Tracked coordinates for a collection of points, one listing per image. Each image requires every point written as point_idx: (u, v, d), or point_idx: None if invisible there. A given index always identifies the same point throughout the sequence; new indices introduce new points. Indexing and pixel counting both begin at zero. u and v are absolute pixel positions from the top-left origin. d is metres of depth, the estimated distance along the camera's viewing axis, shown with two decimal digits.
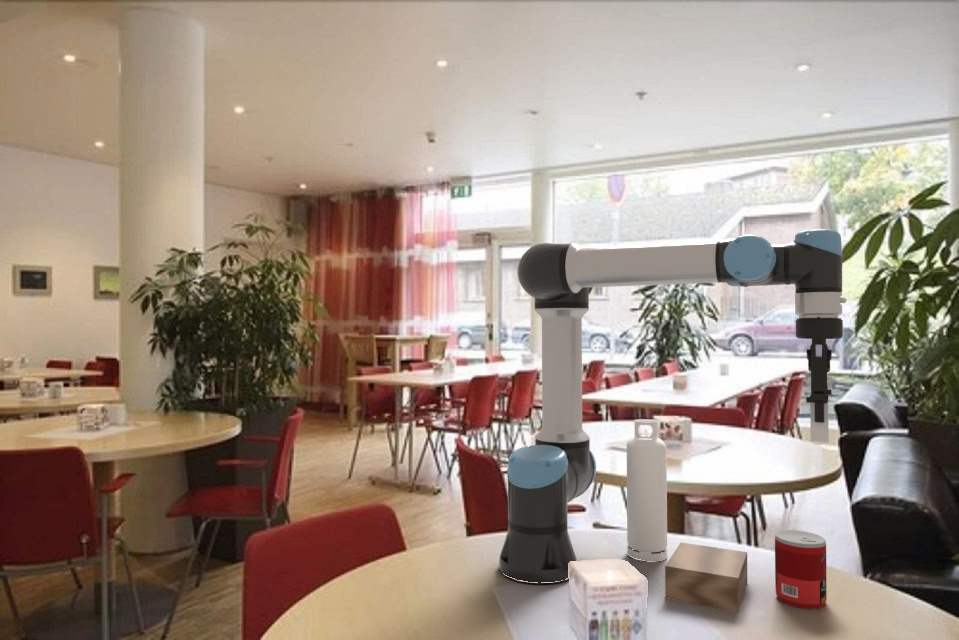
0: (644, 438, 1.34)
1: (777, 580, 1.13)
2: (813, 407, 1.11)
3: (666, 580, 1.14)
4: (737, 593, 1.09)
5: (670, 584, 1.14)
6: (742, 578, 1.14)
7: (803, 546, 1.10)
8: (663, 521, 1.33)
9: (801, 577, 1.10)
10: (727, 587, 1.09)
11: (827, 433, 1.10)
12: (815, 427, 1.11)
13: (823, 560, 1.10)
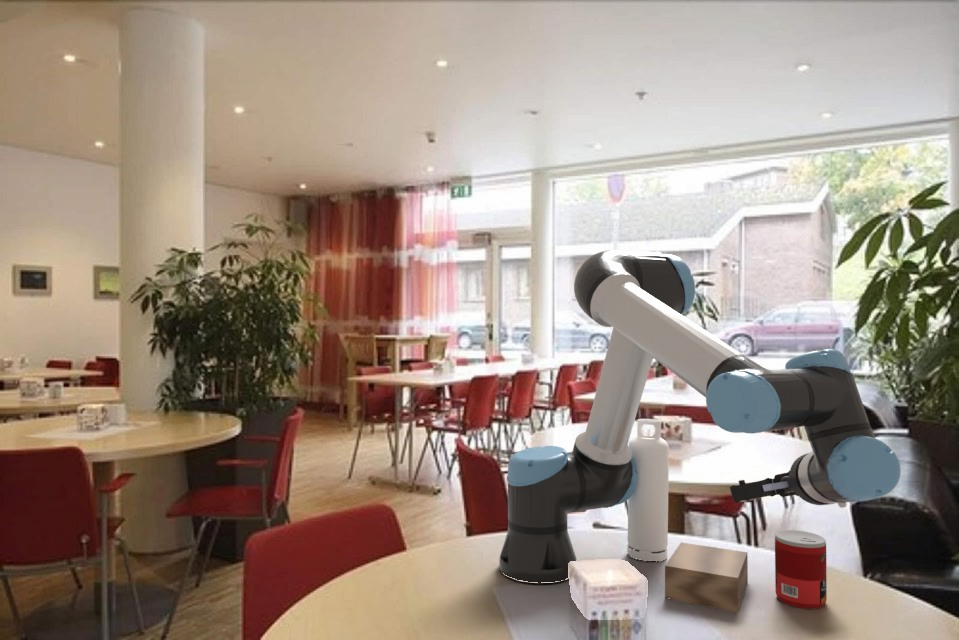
0: (647, 437, 1.34)
1: (777, 580, 1.13)
2: None
3: (666, 580, 1.14)
4: (737, 593, 1.09)
5: (670, 583, 1.14)
6: (742, 578, 1.14)
7: (803, 546, 1.10)
8: (664, 521, 1.33)
9: (801, 577, 1.10)
10: (727, 587, 1.09)
11: (742, 500, 1.11)
12: None
13: (823, 560, 1.10)
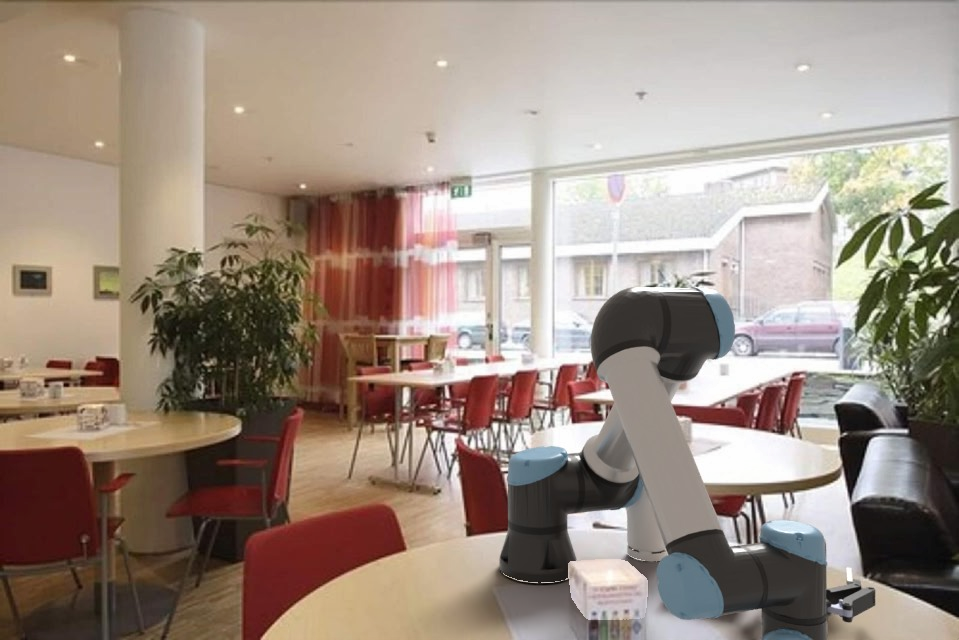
0: None
1: None
2: None
3: None
4: None
5: None
6: None
7: None
8: None
9: None
10: None
11: None
12: None
13: None
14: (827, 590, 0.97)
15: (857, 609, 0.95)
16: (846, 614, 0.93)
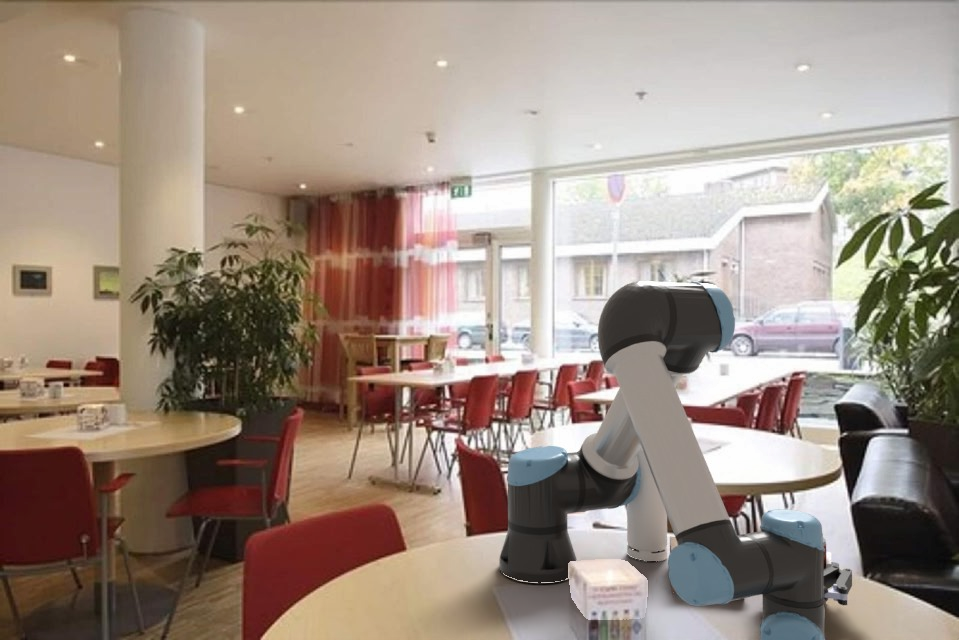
0: None
1: None
2: None
3: None
4: None
5: None
6: None
7: None
8: (663, 520, 1.33)
9: None
10: None
11: None
12: None
13: None
14: None
15: None
16: (843, 597, 0.99)
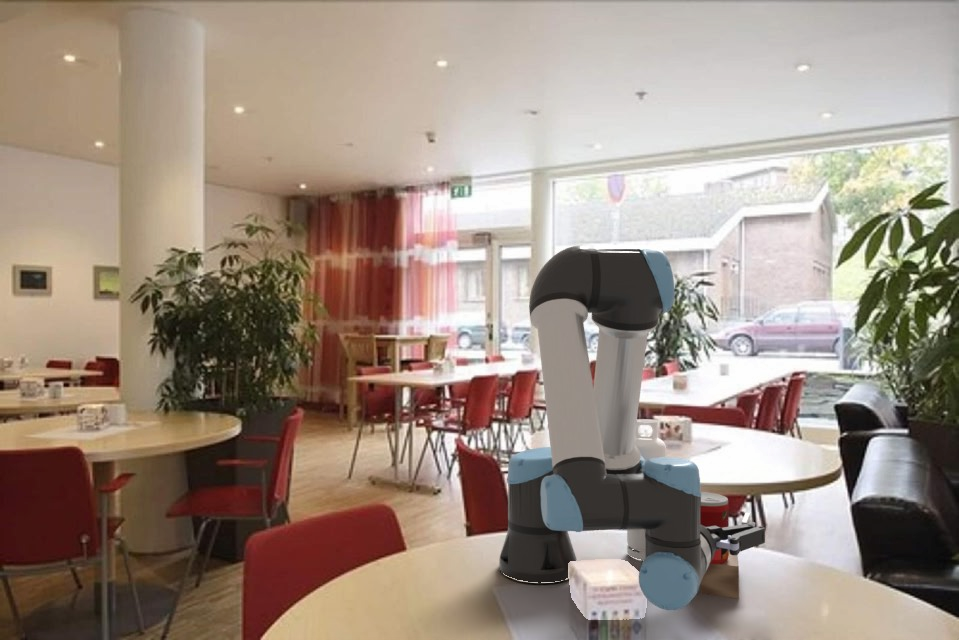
0: (644, 438, 1.34)
1: None
2: None
3: None
4: (737, 581, 1.14)
5: None
6: None
7: (706, 504, 1.15)
8: None
9: None
10: (728, 575, 1.15)
11: None
12: None
13: (725, 518, 1.16)
14: (719, 528, 1.06)
15: (745, 544, 1.04)
16: (732, 548, 1.01)
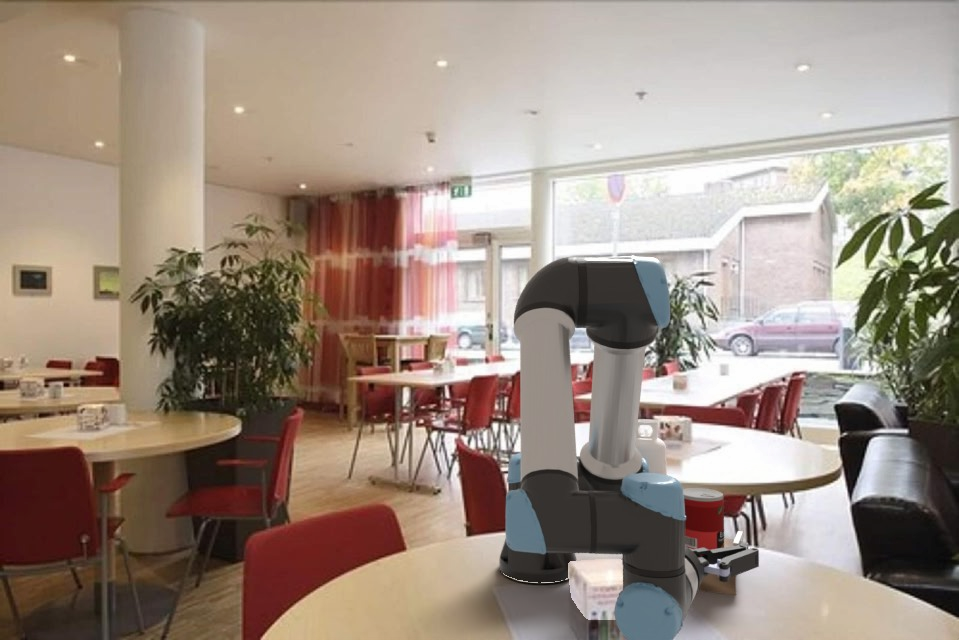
0: (644, 438, 1.34)
1: None
2: None
3: None
4: (734, 577, 1.16)
5: None
6: None
7: (702, 500, 1.18)
8: None
9: (699, 529, 1.18)
10: None
11: None
12: None
13: (720, 513, 1.19)
14: (708, 551, 0.95)
15: (737, 569, 0.93)
16: (722, 573, 0.91)
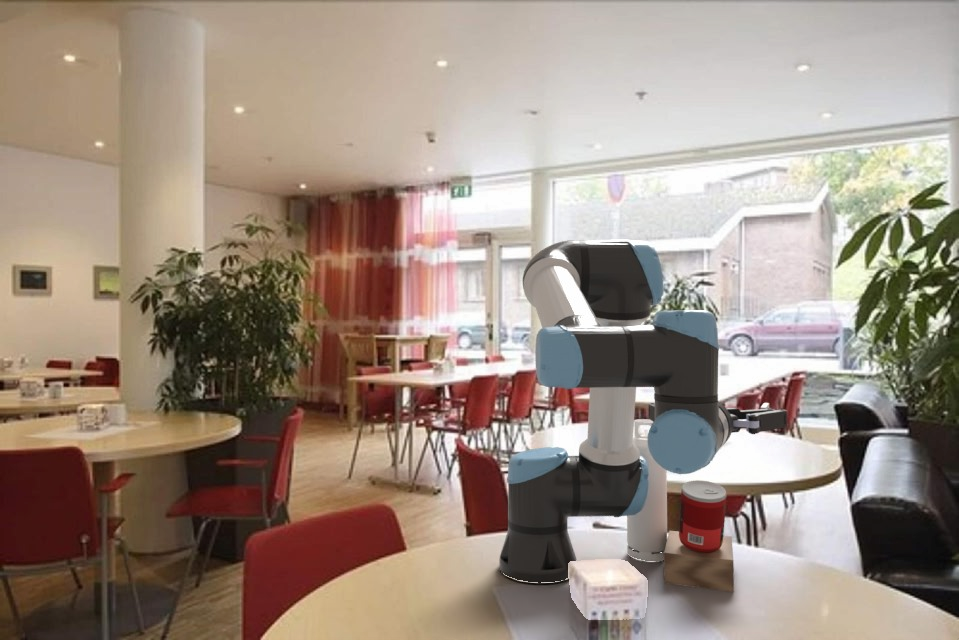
0: (644, 438, 1.34)
1: (683, 529, 1.22)
2: None
3: (665, 566, 1.21)
4: (732, 574, 1.17)
5: (669, 569, 1.21)
6: None
7: (711, 501, 1.18)
8: (663, 521, 1.33)
9: (707, 528, 1.19)
10: (723, 569, 1.18)
11: None
12: None
13: (724, 509, 1.20)
14: (736, 409, 0.94)
15: (766, 425, 0.92)
16: (752, 425, 0.90)
